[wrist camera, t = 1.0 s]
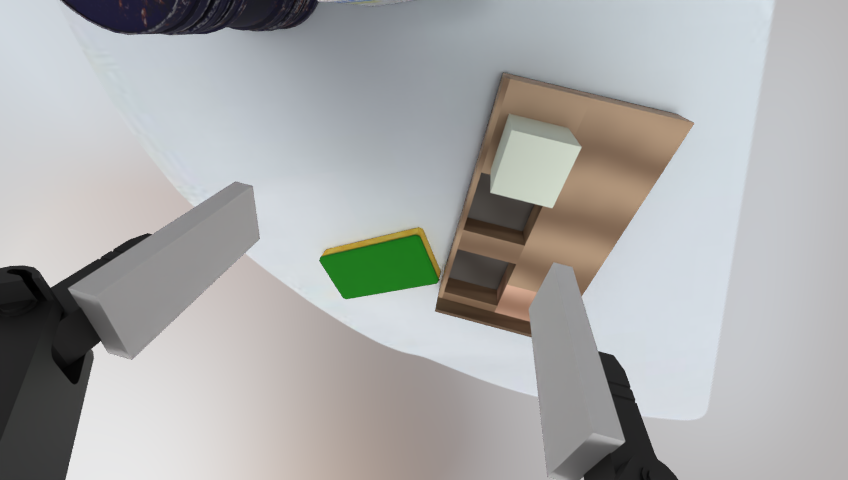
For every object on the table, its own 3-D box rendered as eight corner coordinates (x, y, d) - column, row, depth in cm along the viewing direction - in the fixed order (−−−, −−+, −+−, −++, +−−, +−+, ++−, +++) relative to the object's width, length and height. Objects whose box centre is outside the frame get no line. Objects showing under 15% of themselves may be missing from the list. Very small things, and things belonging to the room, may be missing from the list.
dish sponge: (325, 247, 43) (317, 258, 41) (422, 224, 39) (418, 235, 37) (350, 288, 47) (343, 300, 45) (441, 271, 42) (439, 283, 40)
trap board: (503, 72, 28) (504, 81, 24) (676, 114, 28) (708, 130, 24) (440, 283, 43) (434, 311, 39) (554, 313, 42) (561, 345, 38)
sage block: (509, 113, 27) (511, 129, 23) (568, 128, 27) (581, 147, 23) (490, 169, 30) (490, 192, 26) (544, 182, 30) (552, 208, 26)
